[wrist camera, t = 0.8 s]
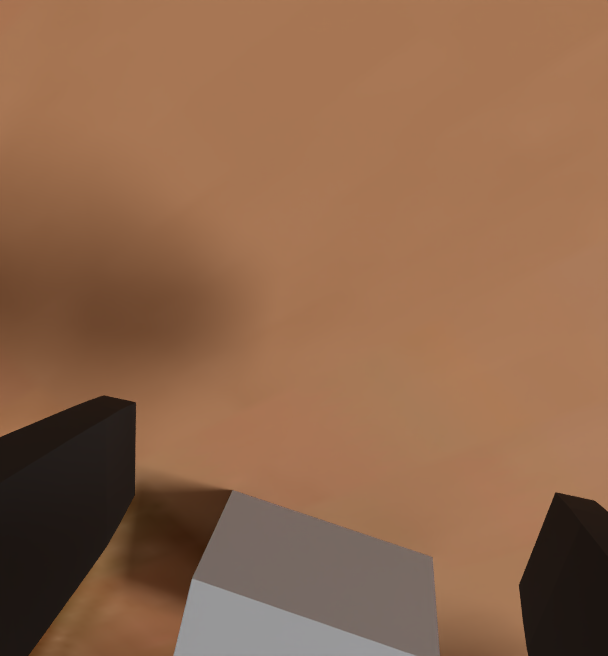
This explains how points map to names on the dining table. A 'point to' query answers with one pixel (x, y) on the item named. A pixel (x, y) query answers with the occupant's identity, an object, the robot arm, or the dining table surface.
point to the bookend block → (305, 590)
